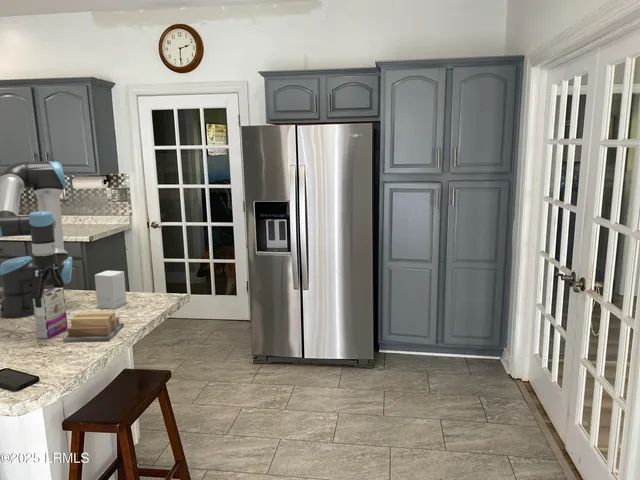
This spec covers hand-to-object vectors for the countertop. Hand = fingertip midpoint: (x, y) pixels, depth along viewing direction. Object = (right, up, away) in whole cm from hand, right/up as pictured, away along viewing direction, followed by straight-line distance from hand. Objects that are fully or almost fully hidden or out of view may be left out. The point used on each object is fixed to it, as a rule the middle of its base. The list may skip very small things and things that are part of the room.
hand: (50, 310), depth 184 cm
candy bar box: (0, -9, +2) cm, 10 cm away
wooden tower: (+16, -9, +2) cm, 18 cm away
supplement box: (+8, -3, +36) cm, 37 cm away
